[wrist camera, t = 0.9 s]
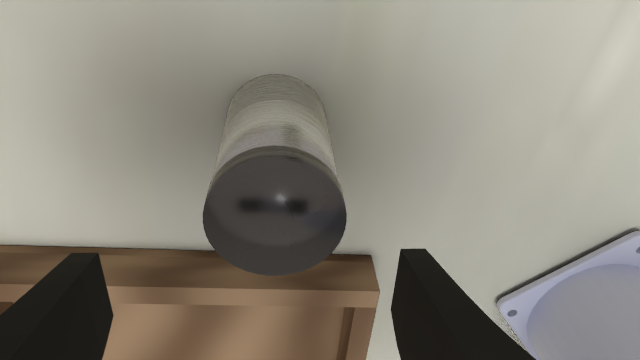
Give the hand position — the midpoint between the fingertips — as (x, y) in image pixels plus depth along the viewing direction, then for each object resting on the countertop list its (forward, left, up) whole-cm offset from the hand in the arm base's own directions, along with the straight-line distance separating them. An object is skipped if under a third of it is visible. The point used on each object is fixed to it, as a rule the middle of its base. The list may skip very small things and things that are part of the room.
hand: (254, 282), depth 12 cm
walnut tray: (-8, +12, -9) cm, 17 cm away
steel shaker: (0, 0, -10) cm, 10 cm away
